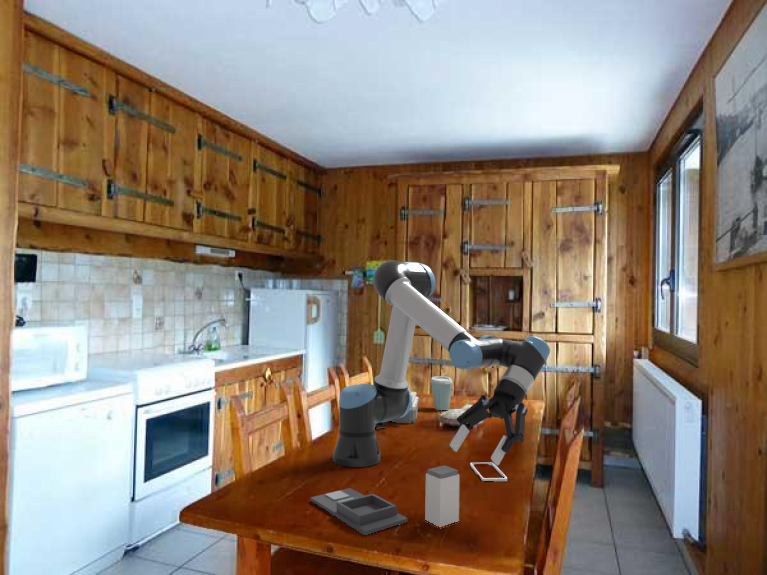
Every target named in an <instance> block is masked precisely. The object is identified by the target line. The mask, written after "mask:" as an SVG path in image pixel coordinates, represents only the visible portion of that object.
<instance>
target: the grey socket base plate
mask: <svg viewBox="0 0 767 575" xmlns="http://www.w3.org/2000/svg"><path fill="white" fill-rule="evenodd" d="M311 501H312V502H313V503H312V502H311ZM310 502H311V503H312V504H314V503H315V504H317V505H318V506H317V505H316V506H317V507H319V506H320V507H321V508H320V507H319V508H320V509H322V508H323V509H325V510H326V511H328V512H329V513H328V512H327V513H328V514H330V513H331V514H332V515H331V514H330V515H331V516H333V515H334V516H336V517H337V518H336V517H335V518H336V519H337V520H339V519H340V522H342V521H343V522H342V523H344V522H345V523H346V525H347V526H348V527H349V528H352V529H353V528H354V529H353V530H355V529H356V530H355V531H357V532H358V531H359V532H358V533H359V534H361V533H362V534H361V535H363V536H364V535H367V536H369V535H368V534H370V535H372V534H371V533H373V534H375V533H374V532H376V531H379V530H382V529H385V528H388V527H392V526H395V525H399V524H402V523H404V522H409V521H408V520H409V519H408V517H406V516H405V515H402V514H400V513H398V506H397V505H396V504H394V503H392V502H390V501H388V500H387V499H384V498H382V497H380V496H378V495H377V494H375V493H371V494H367V495H364V494H363V493H360V492H359V491H357V490H356V489H355V490H354V489H353V488H351V487H349V488H344V489H340V490H336V491H332V492H328V493H323V494H320V495H315V496H312V497H310ZM315 504H314V505H315ZM323 509H322V510H323ZM325 510H324V511H325ZM326 511H325V512H326ZM334 516H333V517H334ZM345 523H344V524H345ZM402 525H403V524H402ZM399 526H400V525H399ZM376 533H377V532H376Z"/></svg>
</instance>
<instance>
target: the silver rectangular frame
mask: <svg viewBox="0 0 767 575" xmlns="http://www.w3.org/2000/svg"><path fill="white" fill-rule="evenodd" d="M469 463H470V464H469V465H470V467H471V469H472V470H473V471H474V473H475V474H476V475H478V476H479V478H480V479H481V482H484V481H494V482H507V481H508V477H507V476H506V475H505V474H504V472H503V471H502V470H501V469H500V468H499V467H498V465H496V464H495V463H494V462H493V461H492V462H491V461H489V462H469ZM476 464H477V465H479V464H482V465H483V464H487V465H488V466H491V467H493V468H494V470H496V471H497V472H498V473H499V475H500V476H502V477H487V478H486V477H483V476H482V475H481V473H480V472H479V471H478V470H477V468H476V467H475V465H476ZM503 477H504V478H503Z"/></svg>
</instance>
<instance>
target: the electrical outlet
mask: <svg viewBox="0 0 767 575" xmlns="http://www.w3.org/2000/svg"><path fill="white" fill-rule="evenodd" d="M410 392H411V393H410V395H412V405H411V408H410V410H409V412H408V413H407V414H406V415H405V416H404V417H402V418H399V419H397V420H393V421H392V422H391V423H393V422H396V423H395V424H415V423H416V421H417V418H418V410H419V401H420V397H419V396H417V395H418V393H417V392H416V391H410ZM390 421H391V420H390Z"/></svg>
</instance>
